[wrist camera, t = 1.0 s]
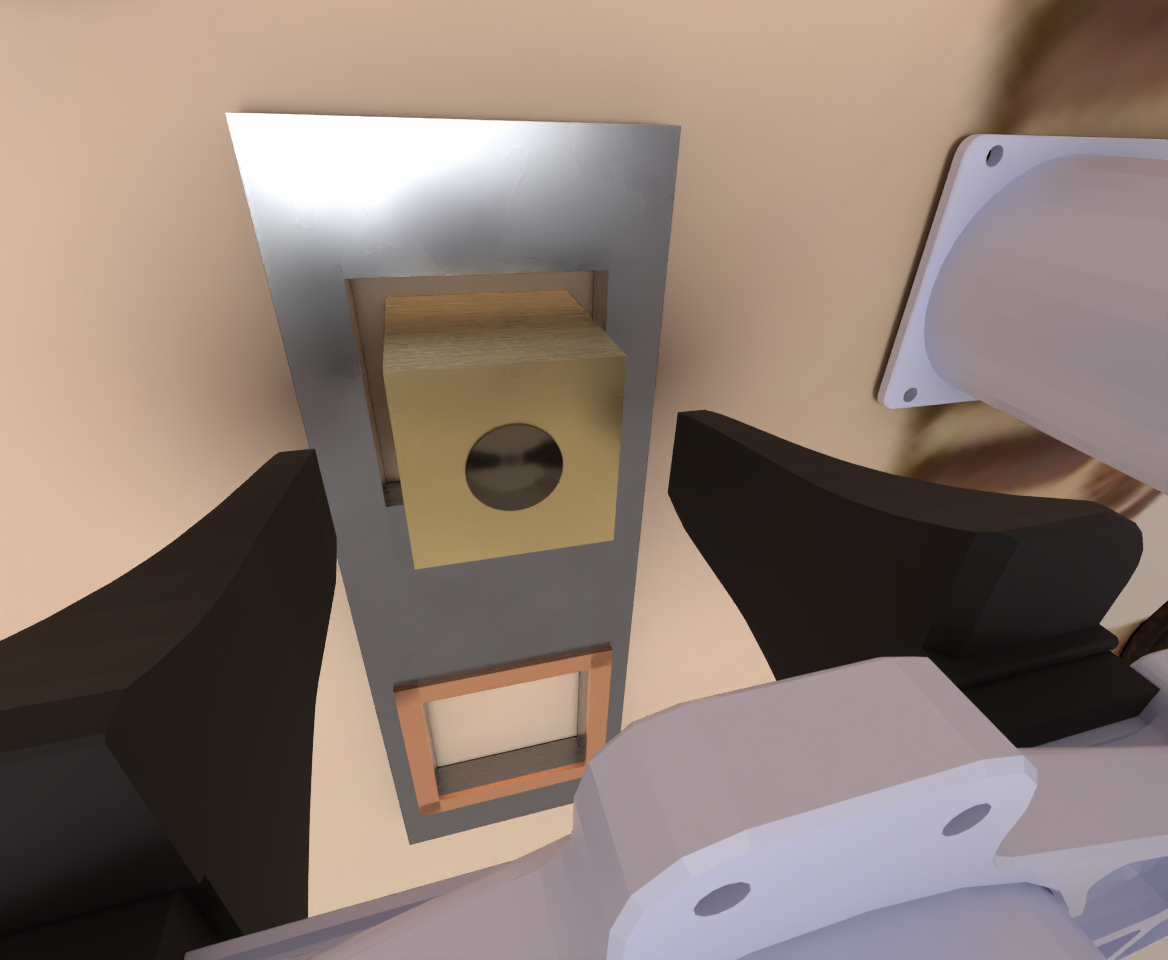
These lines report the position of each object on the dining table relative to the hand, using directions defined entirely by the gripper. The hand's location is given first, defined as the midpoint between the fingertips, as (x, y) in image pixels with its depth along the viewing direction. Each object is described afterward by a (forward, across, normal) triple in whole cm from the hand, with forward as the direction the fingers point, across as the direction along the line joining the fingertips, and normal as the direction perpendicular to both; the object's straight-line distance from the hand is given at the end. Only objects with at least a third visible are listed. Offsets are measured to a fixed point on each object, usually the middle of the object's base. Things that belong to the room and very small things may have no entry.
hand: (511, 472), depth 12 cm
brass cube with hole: (+5, 0, 0) cm, 5 cm away
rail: (+5, 0, +7) cm, 9 cm away
